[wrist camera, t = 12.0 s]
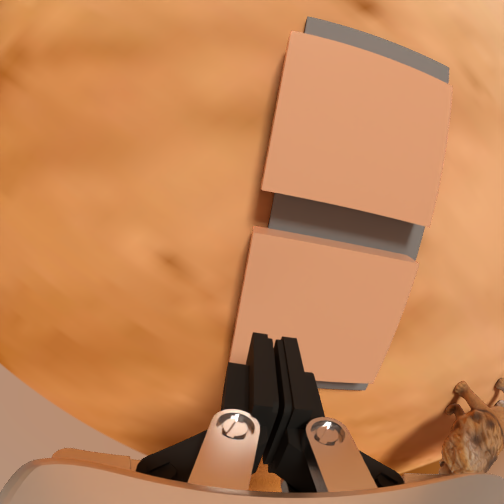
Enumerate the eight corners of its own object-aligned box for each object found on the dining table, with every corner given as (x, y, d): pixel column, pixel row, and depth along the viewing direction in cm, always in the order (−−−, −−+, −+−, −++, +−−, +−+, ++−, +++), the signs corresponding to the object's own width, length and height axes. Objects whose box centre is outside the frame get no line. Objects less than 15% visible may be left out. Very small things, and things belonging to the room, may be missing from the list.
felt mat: (306, 19, 13) (307, 16, 13) (445, 68, 14) (449, 67, 14) (238, 375, 20) (237, 379, 19) (363, 386, 20) (365, 390, 20)
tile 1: (253, 232, 15) (419, 263, 15) (253, 224, 16) (405, 254, 17) (227, 370, 17) (372, 383, 17) (229, 353, 19) (365, 367, 19)
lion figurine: (405, 428, 22) (440, 505, 13) (427, 383, 20) (478, 463, 12) (508, 403, 22) (547, 453, 13) (529, 363, 21) (576, 411, 12)
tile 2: (291, 30, 12) (452, 86, 12) (287, 42, 14) (437, 90, 14) (261, 190, 14) (429, 227, 15) (260, 186, 16) (414, 221, 16)
